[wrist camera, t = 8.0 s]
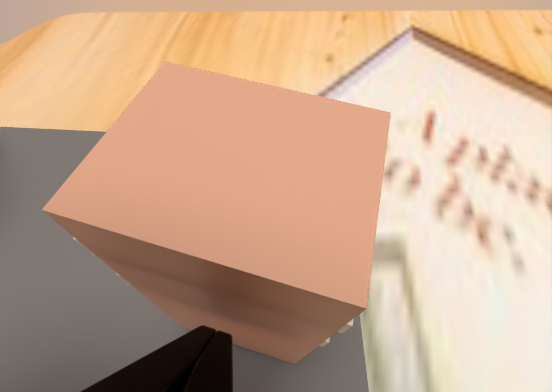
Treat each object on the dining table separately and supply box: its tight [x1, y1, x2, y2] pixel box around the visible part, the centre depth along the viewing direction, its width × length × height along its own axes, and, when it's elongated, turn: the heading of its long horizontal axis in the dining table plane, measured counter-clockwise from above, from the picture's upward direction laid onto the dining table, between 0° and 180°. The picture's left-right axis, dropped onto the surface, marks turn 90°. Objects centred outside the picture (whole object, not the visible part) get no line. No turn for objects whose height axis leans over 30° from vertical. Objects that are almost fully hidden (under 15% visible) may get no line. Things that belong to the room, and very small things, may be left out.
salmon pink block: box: [42, 61, 391, 364], centre depth 10 cm, size 4×5×10 cm
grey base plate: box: [0, 127, 369, 392], centre depth 14 cm, size 14×27×5 cm, turn 89°
